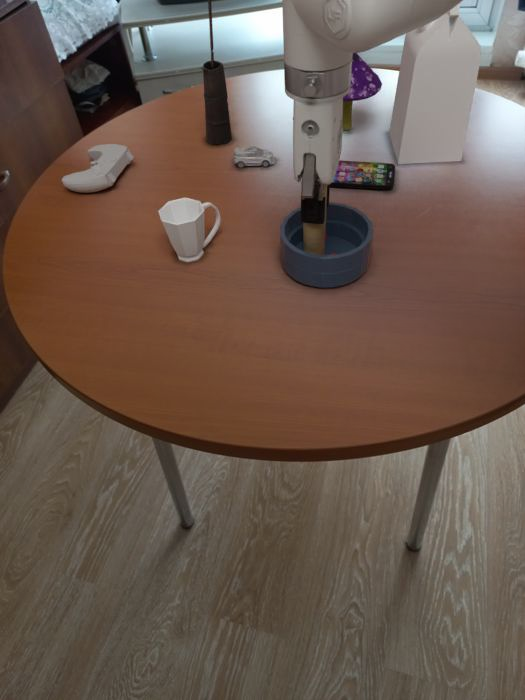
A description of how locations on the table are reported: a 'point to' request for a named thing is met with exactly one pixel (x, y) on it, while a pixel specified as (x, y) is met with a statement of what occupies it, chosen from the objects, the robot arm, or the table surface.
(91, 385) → the table surface
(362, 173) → the smartphone
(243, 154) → the toy car
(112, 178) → the game controller
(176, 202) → the cup
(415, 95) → the milk
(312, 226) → the stick
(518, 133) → the table surface
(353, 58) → the decorative mushroom
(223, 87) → the butter churn
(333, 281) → the bowl
